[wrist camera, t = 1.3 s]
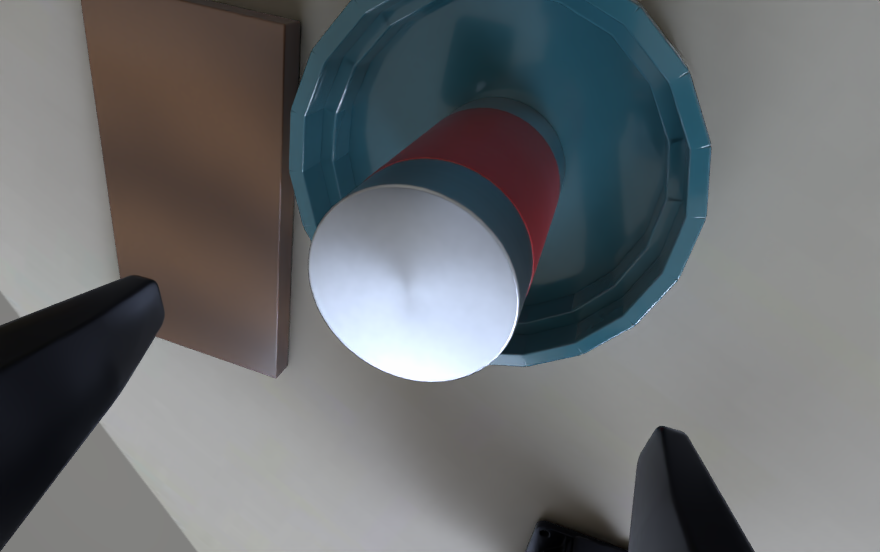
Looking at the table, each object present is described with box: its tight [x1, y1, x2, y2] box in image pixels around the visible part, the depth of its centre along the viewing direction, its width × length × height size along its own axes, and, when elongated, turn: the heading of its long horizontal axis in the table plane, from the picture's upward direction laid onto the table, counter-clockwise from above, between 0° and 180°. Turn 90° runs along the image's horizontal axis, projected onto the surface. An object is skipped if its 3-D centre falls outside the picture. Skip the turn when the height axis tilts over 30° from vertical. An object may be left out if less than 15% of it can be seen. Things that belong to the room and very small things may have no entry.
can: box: [308, 97, 565, 382], centre depth 17 cm, size 5×5×10 cm
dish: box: [289, 0, 711, 367], centre depth 21 cm, size 14×14×3 cm
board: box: [81, 0, 300, 378], centre depth 26 cm, size 17×9×1 cm, turn 170°
